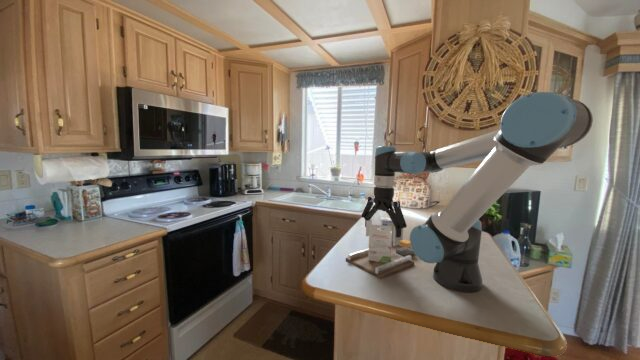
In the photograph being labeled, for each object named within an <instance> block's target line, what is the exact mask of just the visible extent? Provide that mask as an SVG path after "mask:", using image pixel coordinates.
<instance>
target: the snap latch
mask: <svg viewBox="0 0 640 360" xmlns="http://www.w3.org/2000/svg"><path fill="white" fill-rule="evenodd" d="M398 246H400V247H405V248H409V249H410V248H412V247H411V242H410V239H409V240H408V239H402V240H401V241H399V245H398Z"/></svg>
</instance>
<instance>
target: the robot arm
mask: <svg viewBox="0 0 640 360" xmlns="http://www.w3.org/2000/svg"><path fill="white" fill-rule="evenodd" d="M592 113H593V112H592V111H591V109H590V107H588V106H587V105H586V104H585V103H584V102H581V101H580V100H577V99H574V98H571V97H567V96H565V95H564V94H560V93H557V92H554V91H553V92H551V91H550V92H549V91H536V92H532V93H528V94H525V95H523V96H520V97H518V98H516V100H514V101H513V102H511V103H510V104H509V105H508V107H506V109H505V110H504V112H503V113H502V116H501V117H500V129H496V130H494V131H492V132H487V133H485V134H481V135H478V136H475V137H472V138H469V139H465V140H463V141H460V142H459V141H458V142H456V143H453V144H450V145H446V146H444V147H440V148H438V149H433V150H431V151H397V148H396V146H393V145H391V146H390V145H389V146H388V145H385V146H384V145H380V146H377V147H376V148H375V156H374V183H373V184H374V187H373V196H368V197H367V202H366V204H365V206H364V209H363V211H362V213H361V215H360V216H361V218H363V219H364V224H365V225H364V226H365V237H369V232H370V225H371V224H372V225H373V219H372V217H374V215H375V214H376V213H377V212H378V211H381V212H382V211H383V212H385V213H386V214H387V215H388V216H389V217H390V218H391V220H392V222H393V224H394V226H395V227H396V228H394V232H393V241H392V247H396V246H399V237H401V230H402V228H403V229H406V228H407V226H408V225H407V223H406V219H405V217H404V214H403V211H402V209H401V201H399V200H398V201H394V200H393V198H394V195H395V188H394V186H395V178H396V175H395V174H396V173H400V174H401V173H402V174H407V175H419V174H421V173H431V174H433V173H438V172H441V171H443V170H446V169H450V168H454V167H458V166H463V165H468V164H471V163H472V164H473V163H475V162H480V161H481V163H480V164H479V165H478V166H477V167H476V169H475V170H474V171H473V172H472V173H471V175H470V176H469V177H468V179H466V181H465V182H464V183H463V185H462V186H461V187H460V188H459V189H458V191H457V192H456V193H455V194H454V196H453V197H451V199H450V200H449V202H448V203H447V204H446V205H445V206H444V207H443V209H442V210H439V211H434V212H433V213H432V214H431V215H430V216H429V217H428V218H427V220H426V221H425V222H424V223H423V224H419V225H416V226H414V227H413V228H412V230H411V231H410V232H409V233H410V234H409V241H410V242H411V247H410V248H411V249H412V250H413V251H414V253H415V254H414V255H415V256H416V257H417V258H418V259H419V260H421V261H422V262H424V263H427V264H435V266H434V268H433V272H432V278H433V279H434V280H435V282H437V283H438V284H440V285H442V286H443V287H445V288H448V289H450V290H454V291H458V292H463V293H464V292H465V293H474V292H479V291H481V290H482V288H483V278H482V273H481V270H480V265H479V258H480V257H479V256H480V251H481V250H480V248H481V240H482V233H483V230H482V225H483V223H482V221H481V220H480V218H481V217H482V216H484V214H485V213H486V212H487V211H488V210H489V209H490V208H491V207H492V206H493V205H494V204H495V203H496V202H497V201H498V200H499V199H500V198H501V197H502V196H503V195H504V193H506V192H507V190H509V189H510V187H511V186H513V185H514V183H516V181H517V180H518V179H519V178H520V177H522V175H523V174H524V173H525V172H526V171H527V170H528V169H529V168H530V167H532V166H538V165H539V166H540V165H543V164H544V163H545V162H546V161H547V160H549V158H550V157H551V156H552V155H553V154H554V153H555V152H556V151H557V150H558V149H561V148H567V147H571V146H573V145H575V144H577V143H578V142H580V141H581V140H583V139H585V137H586V136H587V135H588V134H589V132H590V130H592V129H591V128H592V126H593V121H594V120H593V119H594V117H593V114H592Z"/></svg>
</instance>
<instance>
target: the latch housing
mask: <svg viewBox="0 0 640 360" xmlns="http://www.w3.org/2000/svg"><path fill="white" fill-rule="evenodd" d="M395 253H397V254H399V255H401V256H403V257H405V256H408V255H410V256H413V255H416V254H415V253H414V251H413V250H412V248H410V247H409V248H405V247H402V246H400V247H398V248H396V250H395Z"/></svg>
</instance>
